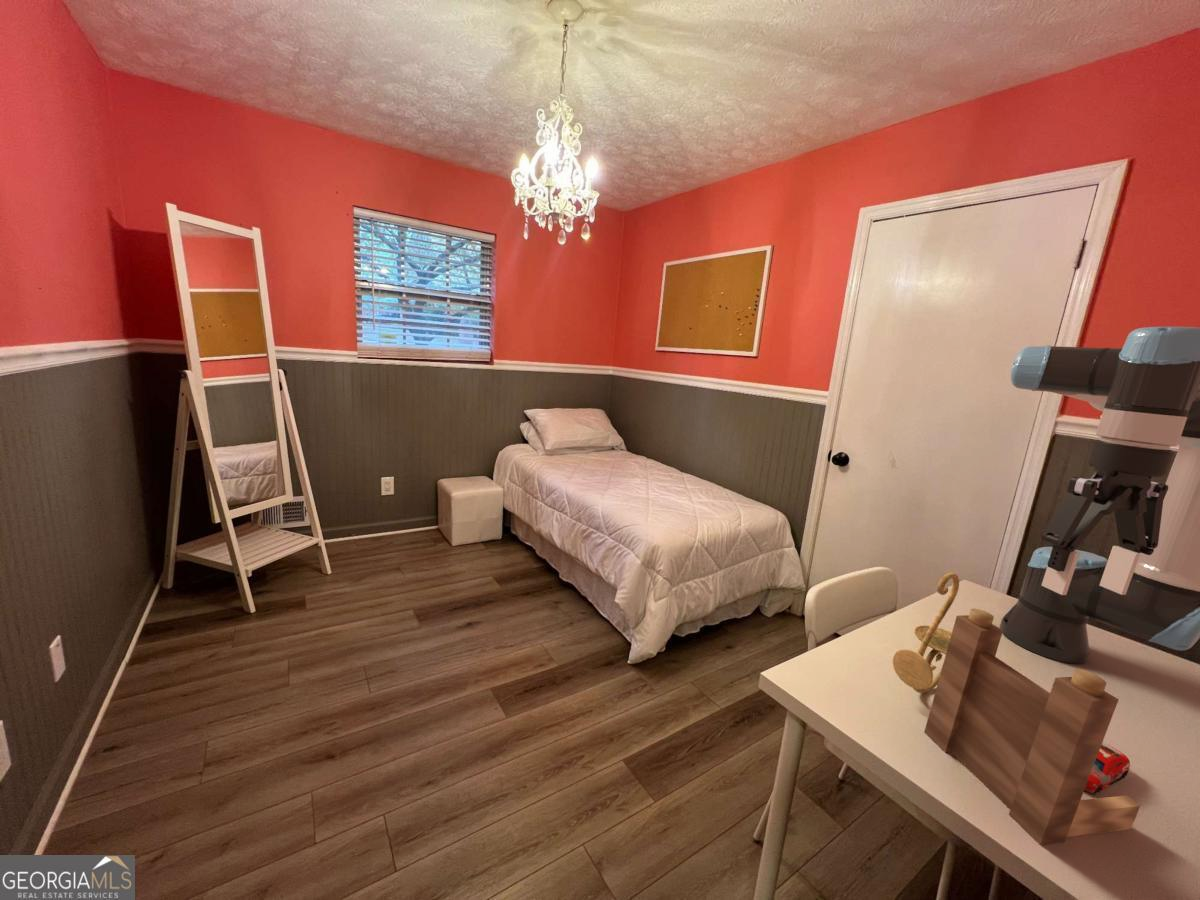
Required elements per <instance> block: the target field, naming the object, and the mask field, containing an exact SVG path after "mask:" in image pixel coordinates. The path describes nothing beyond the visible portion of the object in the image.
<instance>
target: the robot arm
mask: <svg viewBox="0 0 1200 900" xmlns="http://www.w3.org/2000/svg"><path fill="white" fill-rule="evenodd" d="M1011 366H1012V367H1011V369H1010V382H1011V383H1012V385H1013V386H1014V387H1015V388H1017V389H1021V390H1028V391H1032V392H1036V391H1037V392H1048V393H1053V394H1057V395H1062V396H1066V397H1068V398H1073V399H1076V400H1079V401H1084V402H1086V403H1088V404H1089V405H1090V407H1093V408H1094V409H1096V410H1098V411H1100V412H1102V414H1101V415H1100V418H1099V423H1098V426H1097V428H1096V432H1095V435H1096V436H1097V437H1099V438H1100V439H1096V440H1094V441H1092V443H1091V446H1090V448H1089V453H1088V455H1087V459H1086V464H1087V465H1088V466H1091V467H1093V468H1094V471H1093V473H1092V475H1091V476H1089V478H1082V477H1077V476H1072V477H1071V478H1070V480H1069V483H1068V487H1067V491H1066V493H1065V494H1064V496H1063V498H1062V500H1061V502H1060V503H1059V504H1058V507H1057V508H1056V511H1055V512H1054V514H1053V516H1052V517H1051V519H1050V521H1049V522H1048V524H1047V526H1046V528H1045V529H1044V531H1043V532H1042V534H1041V541H1044V542H1045V543H1047V544H1049V545H1051V546H1043V547H1037V549H1035V550H1034V551H1033V552H1032V556H1031V558H1030V561H1029V562H1028V563H1027V569H1026V572H1025V576H1024V579H1023V582H1022V586H1021V590H1020V593H1019V597H1018V599H1017V601H1016V603H1015V604H1014V605H1013V606H1012V607H1011V608H1010V609H1009V611H1008V612H1007V613H1005V615H1004V616H1003V617H1002V618H1001V621H1000V624H999V626H998V628H1000V629H1002V630H1003V632H1002V635H1004V636H1005V638H1007V639H1009V640H1010V641H1011V642H1013V643H1014V644H1016V645H1018V646H1020V647H1021V648H1024V649H1025V650H1028V651H1030V652H1032V653H1034V654H1037V655H1039V656H1042V657H1045V658H1048V659H1052V660H1054V661H1059V662H1063V663H1068V664H1084V663H1086V662H1087V660H1088V658H1089V655H1090V651H1091V649H1090V645H1089V644H1090V643H1089V636H1088V630H1087V629H1088V628H1087V624H1088V621H1089V618H1091V619H1093V620H1096V621H1098V622H1101V623H1103V624H1105V625H1109V626H1110V627H1114V628H1115V629H1119V630H1121V631H1124V632H1126V633H1129V634H1131V635H1134V636H1137V637H1139V638H1142V639H1145V640H1147V642H1149V643H1155V644H1158V645H1161V646H1163V647H1166V648H1169V649H1171V650H1172V649H1173V650H1175V651H1186V650H1187V651H1188V650H1189V649H1191V648H1192V647H1193V646H1194V645H1195V644H1196V643H1197V642H1198V641H1199V639H1200V327H1197V326H1195V327H1193V326H1149V327H1140V328H1135V329H1134V330H1132V331H1130V332H1129V334H1128V335H1127V337H1126V340H1125V342H1124V344H1123V346H1122V347H1084V346H1082V347H1081V346H1055V345H1054V346H1052V345H1043V346H1042V345H1041V346H1040V345H1039V346H1037V345H1033V346H1026V347H1025V348H1023V349H1021V350H1020V351H1019V352H1018V354H1017V355H1016V356H1015V358H1014V361H1013V363H1012V365H1011ZM1176 446H1178V449H1177V453H1176V455H1175V452H1173V450H1172V449H1170V448H1171V447H1176ZM1174 456H1175V458H1174ZM1173 458H1174V459H1173ZM1173 460H1174V461H1173ZM1172 461H1173V463H1172ZM1170 467H1171V469H1170ZM1169 470H1170V471H1169ZM1167 475H1168V476H1167ZM1165 476H1167V478H1166V481H1165V483H1160V482H1154V481H1152V478H1163V477H1165ZM1112 513H1114V518H1115V524H1116V531H1117V538H1118V545H1119V546H1118V545H1112V548H1111V550H1110V554H1109V555H1108V556H1109V557H1108V559H1107V558H1106V557H1104V556H1101V555H1098V554H1096V553H1093V552H1090V551H1089V552H1088V551H1084V550H1079V549H1078V547H1079V546H1081V544H1082V542H1083V541H1084V540H1085V539H1086V538H1087V537H1088V536H1089V535H1090V533H1091V532H1092V531H1093V530H1094V529H1095V527H1097V525H1098V524H1099V522H1101V520H1102V519H1103V518H1104V517H1105V516H1107V515H1112Z"/></svg>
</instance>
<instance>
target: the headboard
mask: <svg viewBox="0 0 1200 900" xmlns="http://www.w3.org/2000/svg"><path fill="white" fill-rule="evenodd" d="M994 617H995V616H994V615H993V614H991V613H990V612H988V611H986V610H983V609H979V608H971V609H970V611H969V614H968V615H967V614H965V615H961V614H960V615H956V617H955V621H954V624H953V627H952V634H951V638H950V642H949V645H948V649H947V652H946V654H945V656H944V661H943V663H942V666H943V667H942V666H941V668H942V670H941V669H940V670H941V674H940V677H939V681H938V685H937V686H936V687H935V688H936V689H935V691H934V692H935V693H934V696H933V699H932V702H931V706H930V710H929V714H928V718H927V721H926V725H925V728H924V734H925V735H926V736H927V737H929V739H930V740H931V741H932V742H934V743H935V744H936V745H937V746H938V747H939V748H940V749H941V750H942V751H943V752H944V753H951V755H953V756H954V757H955V758H956V759H957V760H958V761H959V762H960V763H961V764H962V765H963V766H964V767H965V768H966V769H967V770H968V771H969V772H970V773H972V774H973V775H974V777H975V778H977V779H978V780H979V781H980V782H981V783H982V784H983V785H984V786H985V787H986V788H987V789H988V790H989V791H990V792H991V793H993V795H995V796H996V797H997V799H999V800H1000V801H1001V803H1003V805H1005V806H1006V807H1007V808H1008V809H1009V811H1008V812H1009V813H1008V815H1009V816H1010V817H1011V818H1012V819H1013V820H1014V821H1015V822H1016V823H1017V824H1018V825H1019V826H1020V827H1021V828H1022V829H1023V830H1024V831H1025V832H1026V833H1027V834H1028V835H1030V836H1031V838H1033V840H1035V841H1036V842H1037V844H1039V845H1040V846H1041V845H1048V844H1049V845H1050V844H1058V843H1065V842H1066V839H1067V838H1071V837H1079V836H1087V835H1096V834H1104V833H1112V832H1119V831H1127V830H1128V831H1129V830H1132V827H1133V826H1134V825H1133V824H1134V822H1135V820H1136V818H1137V816H1138V813H1139V810H1140V808H1141V805H1140V804H1139V803H1137V802H1136V801H1135V800H1134V799H1132V798H1131V797H1130V796H1128V795H1120V796H1119V795H1118V796H1109V797H1099V798H1091V799H1090V798H1089V799H1082V797H1083V794H1084V791H1085V787H1086V784H1087V782H1088V779H1089V776H1090V774H1091V771H1092V768H1093V766H1094V763H1095V761H1096V758H1097V755H1098V753H1099V750H1100V747H1101V745H1102V742H1104V738H1105V737H1106V733H1107V732H1108V729H1109V726H1110V723H1111V721H1112V718H1113V715H1114V713H1115V710H1116V708H1117V705H1118V702H1119V698H1117V697H1116V696H1114V695H1112V694H1111V693H1109V692H1108V691H1106V690H1105V689H1106V686H1107V681H1106V680H1105V679H1103V678H1102V677H1101V676H1099V675H1096V674H1095V673H1092V672H1090V671H1088V670H1084V669H1075V670H1074V672H1073V674H1072V676H1063V677H1061V676H1060V677H1054V681H1053V684H1052V687H1051V690H1050V692H1049V691H1048V690H1046V689H1045V688H1043V687H1042V686H1040V685H1039V684H1037V683H1036V682H1035V681H1033V680H1031V679H1029V678H1028V677H1027V676H1025V675H1023V674H1022V673H1021V672H1019V671H1018V670H1016V669H1014V668H1013V667H1012V666H1010V665H1008V664H1007V663H1006V662H1004V661H1003V660H1002V659H999V658H998V657H997V656H996V655H997V652H998V648H999V645H1000V643H1001V639H1002V636H1003V633H1002V632H1003V630H1002V629H1000V628H999V626H997V625H995V624H994V623H993V621H994Z"/></svg>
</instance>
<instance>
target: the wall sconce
mask: <svg viewBox="0 0 1200 900" xmlns="http://www.w3.org/2000/svg"><path fill="white" fill-rule="evenodd" d="M951 579H952V584H951V585H952V586H951V589H950V592H949V587H947V586H946V584H947V583H948V582H949V580H951ZM959 587H960V578H959V576H958V575H957V573H955V572H947V573H946V574H945V575H943V576H942V577H941V579H940V580H939V581H938V584H937V587H936V591H937V594H939V595H941V596H945V595H946V594H947V593H948V592H949V594H948V597H947V598H946V600H945V602H944V604H943V605H942V607H941V608H940V610H939V612H938V613H937V615H936V616H935V617H934V619H933V621H932V622H931V624H930V625H917V626H916V627H914V629H913V632H914V635H915V637H916V638H917V639H918V640H919V641H920V642H921V644H920V646H919V648H918V651H915V650H912V649H908V648H903V649H902V648H901V649H899V650H898V651H896V652H895V653H894V654H893V657H892V667H893V670H894V672H895V674H896V676H897V677H898V678H899V679H900V681H902V683H904V684H905V685H907V686H908V687H910V688H912V689H913V690H914V691H915V692H916V693H918V694H925V693H929V691H932V690H933V689H934V688H936V687H937V685H938V681H939V677H940V674H941V670H942V667H943V665H942V666H941V668H940V670H939V672H938V673H937V675H936V676H935V677H934V674H933V671H935V670H936V669H937V666H936V665H934V664H932V662H933V660H934V659H935V662H936V663H937V662H938V661H941V660H942V658H943V654H944V655H946V652H947V649H948V645H949V642H950V638H951V634H952V632H951V631H950V630H946V629H944V628H941V627H939V625H940V624H941V622H942V620H943V619H944V617H945V616H946V614H947V613H948V611H949V610H950V608H951V607H952V604H953V602H954V601H955V599H956V597H957V595H958V592H959V589H960V588H959ZM928 647H929V648H931V650H930V652H928V654H927V656H926V658H925V657H924V656H925V653H926V651H927V648H928Z"/></svg>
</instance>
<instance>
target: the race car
mask: <svg viewBox="0 0 1200 900" xmlns="http://www.w3.org/2000/svg"><path fill="white" fill-rule="evenodd" d="M1130 766H1131V763H1130V759H1129V757H1128V756H1127V755H1126V754H1124V753H1123V752H1121V751H1119V750H1118V749H1117V748H1115V747H1113V746H1111V745H1110V744H1107V743H1106V742H1104V741H1103V742H1102V745H1101V747H1100V750H1099V753H1098V755H1097V758H1096V761H1095V763H1094V766H1093V768H1092V771H1091V774H1090V776H1089V779H1088V782H1087V784H1086V787H1085V790H1084V791H1086V792H1087V793H1091V794H1093V795H1096V794H1098V793H1100V792H1101V791H1103V790H1106V789H1107V788H1109V787H1111V786H1113V785H1115V784H1116V783H1119V781H1122V779H1125V778H1126V777H1127V775H1128V774H1129V771H1130V768H1131V767H1130Z"/></svg>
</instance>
